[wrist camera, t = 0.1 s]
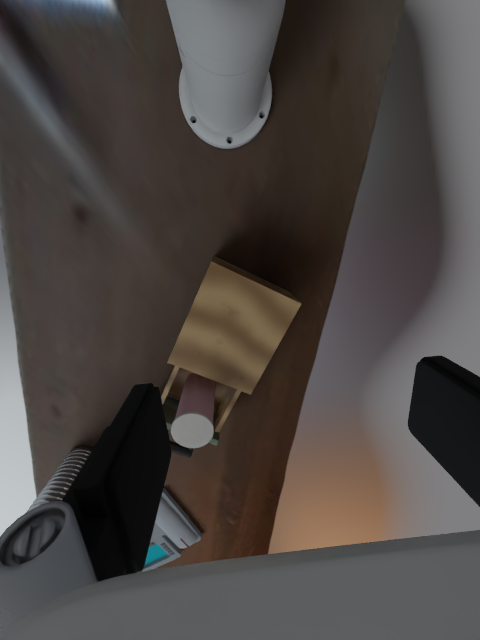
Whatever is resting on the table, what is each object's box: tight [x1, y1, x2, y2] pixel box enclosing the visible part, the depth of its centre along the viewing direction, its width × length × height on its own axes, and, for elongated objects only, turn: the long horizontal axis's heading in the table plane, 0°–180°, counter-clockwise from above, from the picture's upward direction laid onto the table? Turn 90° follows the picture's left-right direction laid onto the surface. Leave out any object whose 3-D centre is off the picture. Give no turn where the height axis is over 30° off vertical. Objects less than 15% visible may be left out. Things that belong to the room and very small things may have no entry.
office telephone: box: [137, 488, 201, 573], centre depth 62 cm, size 23×3×20 cm
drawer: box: [160, 365, 241, 458], centre depth 47 cm, size 21×13×7 cm, turn 154°
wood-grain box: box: [167, 256, 301, 395], centre depth 43 cm, size 17×14×9 cm
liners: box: [171, 373, 215, 448], centre depth 43 cm, size 6×6×12 cm
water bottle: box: [26, 447, 93, 513], centre depth 43 cm, size 7×7×25 cm
